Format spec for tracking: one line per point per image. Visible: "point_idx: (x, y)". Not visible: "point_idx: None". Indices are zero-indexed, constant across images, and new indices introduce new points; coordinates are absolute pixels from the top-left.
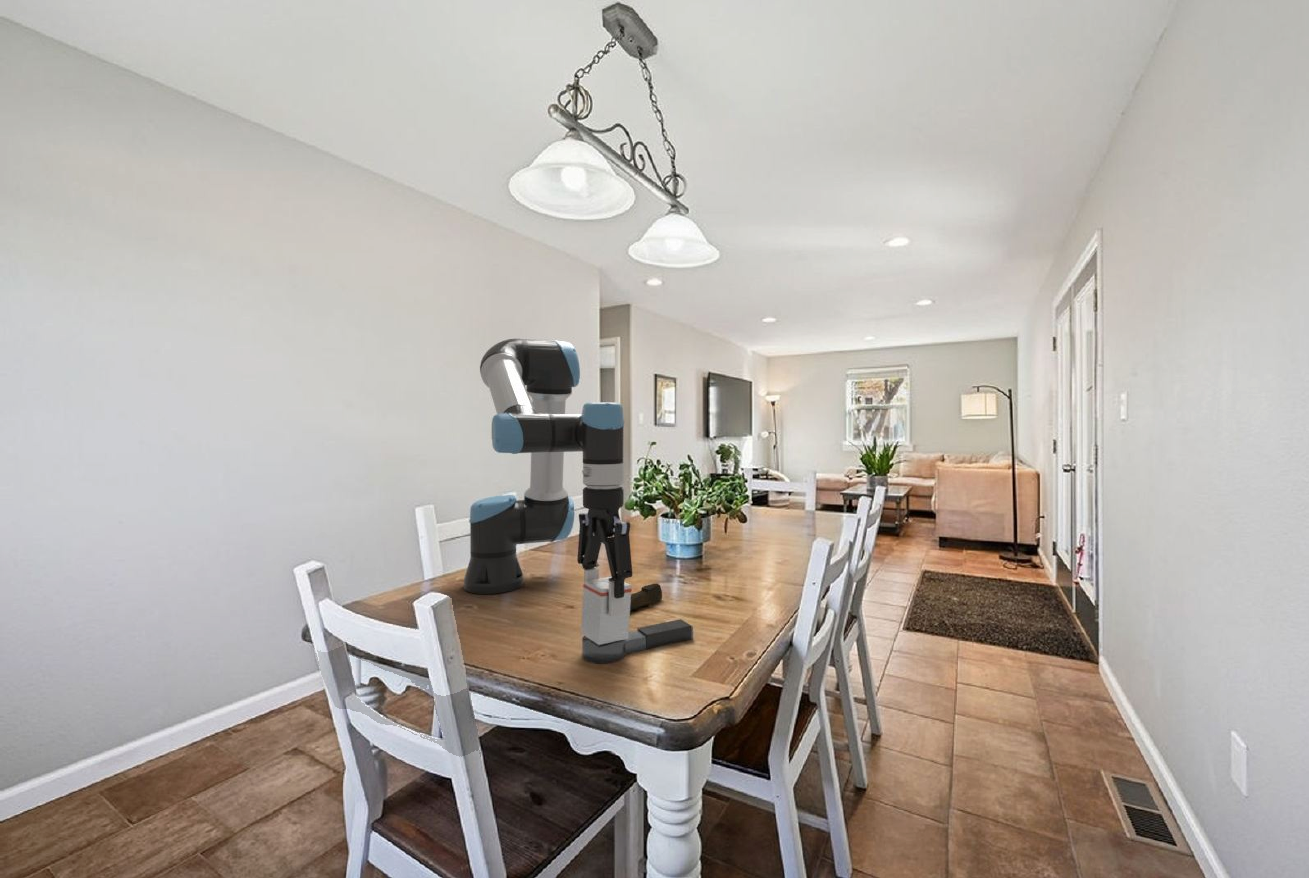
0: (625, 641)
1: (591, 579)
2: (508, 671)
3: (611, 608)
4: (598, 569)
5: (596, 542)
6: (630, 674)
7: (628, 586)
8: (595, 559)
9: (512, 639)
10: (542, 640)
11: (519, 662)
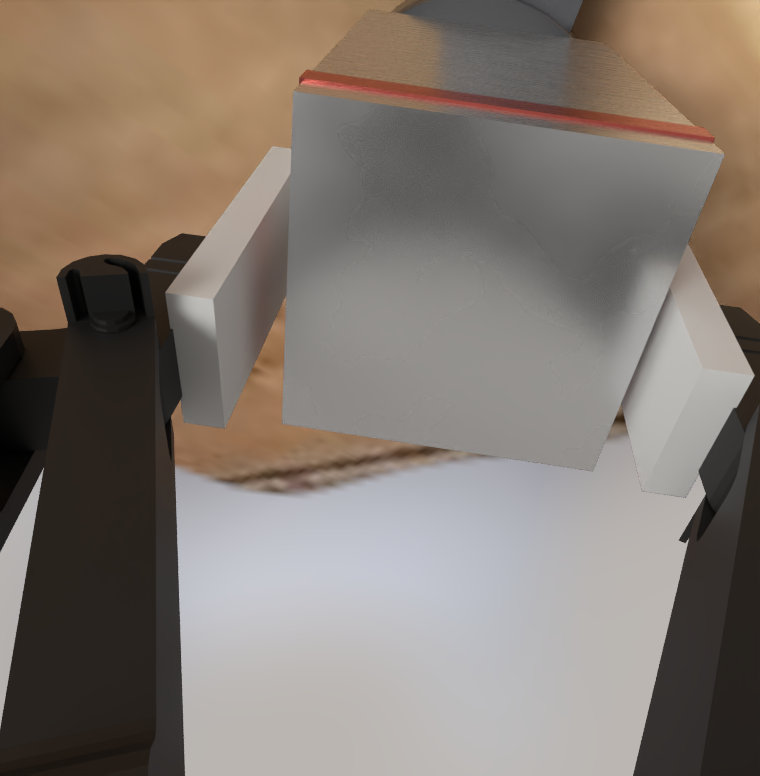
0: (568, 31)
1: (288, 359)
2: (323, 449)
3: None
4: (215, 297)
5: (173, 711)
6: (746, 181)
7: (702, 191)
8: (160, 406)
9: (46, 304)
10: (121, 226)
11: (280, 397)
